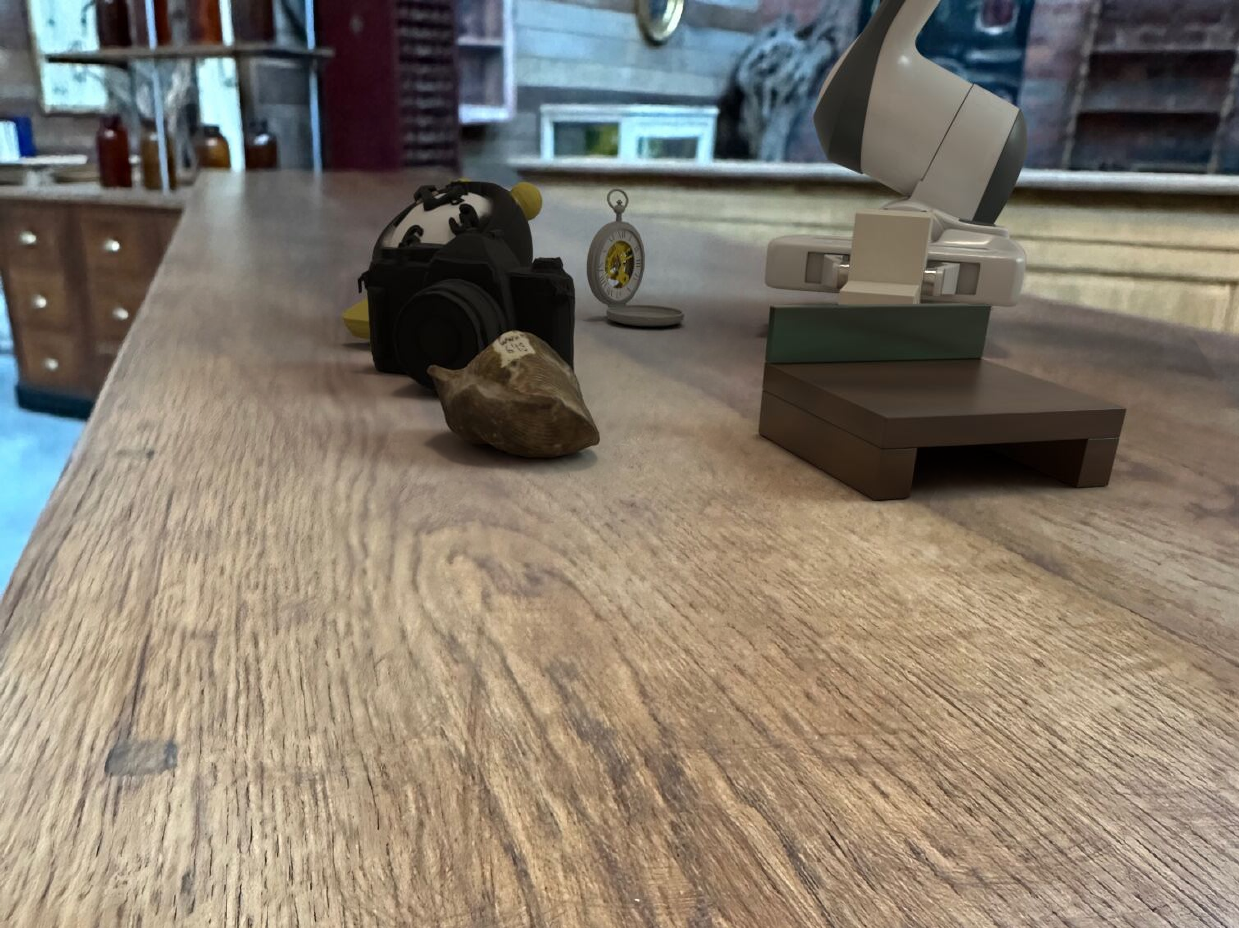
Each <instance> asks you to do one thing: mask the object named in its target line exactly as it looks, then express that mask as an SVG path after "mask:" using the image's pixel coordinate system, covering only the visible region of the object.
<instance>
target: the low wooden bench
mask: <svg viewBox="0 0 1239 928" xmlns="http://www.w3.org/2000/svg"><path fill="white" fill-rule="evenodd" d="M991 311H992V310H991V305H990V304H986V303H937V304H840V305H838V304H771V305H770V306H769V313H768V326H767V336H766V347H765V357H764V361H765V362H764V365H763V375H762V376H763V377H762V387H761V388H762V390H761V399H760V408H759V409H760V410H759V419H758V429H757V430H758V431H757V433H758V434H759V435H761V436H763V437H765V438H766V439H768V440H769V441H771V442H773V443H775V444H777V445H778V446H780V447H782V448H784V449H785V450H787V451H789V452H791V453H792V454H794V455H795V456H797V457H799V458H801V459H803V460H805V461H807V462H808V463H809V464H811V465H813V466H815V467H817V468H818V469H820V470H822V471H824V472H826V473H827V474H829V475H831V476H832V477H834V478H836V479H837V480H839V481H840V482H842V483H845V484H846V485H848V486H849V487H851V488H853V489H855V490H857V492H860V493H862V494H864V495H865V496H866V497H868V498H870V499H872V500H874V501H883V500H884V501H885V500H886V501H887V500H899V499H900V500H902V499H909V498H910V496H911V490H912V484H913V477H914V472H915V471H914V470H915V466H916V465H915V464H916V460H917V453H918V448H934V447H953V446H972V445H973V446H974V445H978V446H979V445H980V446H982V447H984V448H986V449H989V450H991V451H993V452H996V453H998V454H1000V455H1001V456H1004V457H1007V458H1008V459H1011V460H1014V461H1016V462H1018V463H1020V464H1022V465H1025V466H1026V467H1030V468H1032V469H1034V470H1037V471H1039V472H1041V473H1043V474H1045V475H1048V476H1050V477H1052V478H1054V479H1057V480H1058V481H1061V482H1064V483H1066V484H1068V485H1070V486H1073V487H1075V488H1077V489H1078V488H1092V487H1107V486H1109V483H1110V481H1111V480H1110V479H1111V476H1112V473H1113V472H1112V471H1113V467H1114V463H1115V459H1116V455H1117V451H1118V448H1119V443H1120V437H1121V434H1122V431H1123V425H1124V421H1125V419H1126V414H1127V410H1128V408H1127V407H1126V406H1123V405H1119V404H1116V403H1114V402H1111V401H1109V400H1105V399H1102V398H1100V397H1096V396H1093V395H1090V394H1087V393H1084V392H1081V391H1078V390H1075V389H1072V388H1070V387H1066V386H1064V385H1060V384H1058V383H1055V382H1052V381H1049V380H1046V379H1043V378H1040V377H1037V376H1034V375H1031V374H1028V373H1025V372H1022V371H1020V370H1017V369H1014V368H1010V367H1008V366H1004V365H1002V364H999V363H996V362H992V361H991V360H987V359H983V355H984V349H985V344H986V339H987V333H988V328H989V322H990V318H991V317H990V316H991Z"/></svg>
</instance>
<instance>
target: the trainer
mask: <svg viewBox="0 0 1239 928" xmlns="http://www.w3.org/2000/svg"><path fill="white" fill-rule="evenodd" d="M933 218H934V213H930V212H914V211H897V210H881V209H879V208H878V209H877V208H864V207H863V208H861V209H860V210H858V211H857V212H856V213H855V217H854V225H853V233H852V236H853V240H852V248H851V256H850V264H849V272H848V280H847V283H846V284H845V285H844V287H843V288H842V289H841V290H840V291H839V294H838V300H837V305H840V304H920V303H921V297H922V295H920V294H921V286H922V283H923V281H922V280H923V274H924V269H925V267H926V264H927V257H928V251H929V244H930V238H931V231H932V225H933Z"/></svg>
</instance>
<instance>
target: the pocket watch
mask: <svg viewBox="0 0 1239 928" xmlns="http://www.w3.org/2000/svg"><path fill="white" fill-rule="evenodd" d="M615 192H619V193H620V194H621V195H623V196H624V199H625V202H624V204H623V201H622V199H618V200H616V204H615V205H614V204H613V203H612V202H611V195H612V194H613V193H615ZM606 202H607V204H608V206H609V208H611V209H612V211H613V212H614V213H615V221H611V222H608V223H606V224H604V225H603V226H602V227H601V228H600V229H599V230H598V231H597V232H596V233H595V235H594V236H593V238H592V241H591V243H590V245H589V248H588V253H587V257H586V277H587V283H588V285H589V288H590V291H591V293H592V294H593V297H595V298H596V299H597V300H598V302H600V303H602V304H603V305H606V306H607V308H606V311H605V313H606V317H607V318H608V320H610V321H613V322H616V323H619V324H622V325H624V326H626V325H628V326H633V327H634V326H636V327H644V328H647V327H648V328H651V327H667V326H673V325H677V324H680V323H682V322H683V320H684V317H685V312H684V311H683V310H681V309H679V308H674V307H669V306H661V305H651V304H650V305H649V304H628V303H629V302H630V301H631V300H632V299H633V298H634V296H635V295H636V294H637V292H638V291H639V288H640V286H641V284H642V280H643V276H644V272H645V268H646V267H645V266H646V265H645V264H646V254H645V247H644V243H643V240H642V237H641V235H640V233H639V231H638V230H637V228H636V227H635V226H634V225H633V224H631V223H630V222H627V221H623V214H624V213H625V211H626V209H627V207H628V205H629V202H630V200H629V195H628V194H627V192H626V191H624V190H623V189H621V188H616V187H615V188H612V189H611V190H609V191H608V193H607V195H606ZM611 271H613V272H611ZM608 279H610V280H611V281H614V282H616V281H617V282H618V283H617V284H614V285H613V286H612V285H611V283H610V282H609V280H608Z"/></svg>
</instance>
